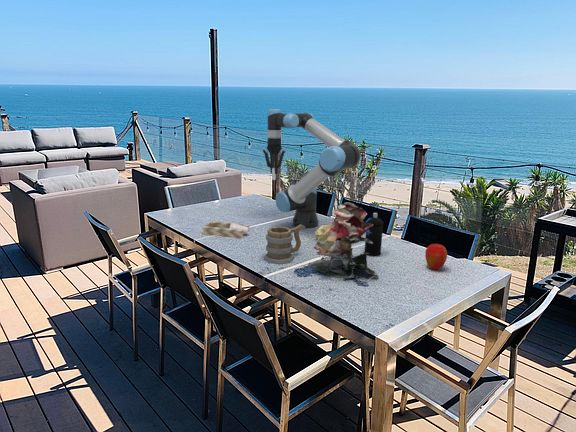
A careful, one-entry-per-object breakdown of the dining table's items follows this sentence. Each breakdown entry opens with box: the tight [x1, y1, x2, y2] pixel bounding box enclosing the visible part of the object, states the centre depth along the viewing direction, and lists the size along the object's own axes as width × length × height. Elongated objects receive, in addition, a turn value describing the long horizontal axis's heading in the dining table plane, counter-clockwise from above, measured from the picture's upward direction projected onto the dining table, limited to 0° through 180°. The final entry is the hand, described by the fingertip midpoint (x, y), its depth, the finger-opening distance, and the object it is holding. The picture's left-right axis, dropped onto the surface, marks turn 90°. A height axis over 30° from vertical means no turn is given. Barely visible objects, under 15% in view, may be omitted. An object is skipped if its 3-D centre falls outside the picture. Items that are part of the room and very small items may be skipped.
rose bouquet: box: [312, 202, 380, 282], centre depth 186 cm, size 26×29×30 cm
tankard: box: [264, 224, 306, 265], centre depth 201 cm, size 20×13×15 cm, turn 117°
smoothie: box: [230, 222, 251, 235], centre depth 235 cm, size 6×6×14 cm
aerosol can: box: [363, 212, 384, 257], centre depth 208 cm, size 8×8×20 cm
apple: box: [424, 243, 448, 271], centre depth 191 cm, size 9×9×12 cm
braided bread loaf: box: [202, 220, 250, 239], centre depth 237 cm, size 22×12×4 cm, turn 75°
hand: (273, 179), depth 249 cm, fingers closed
